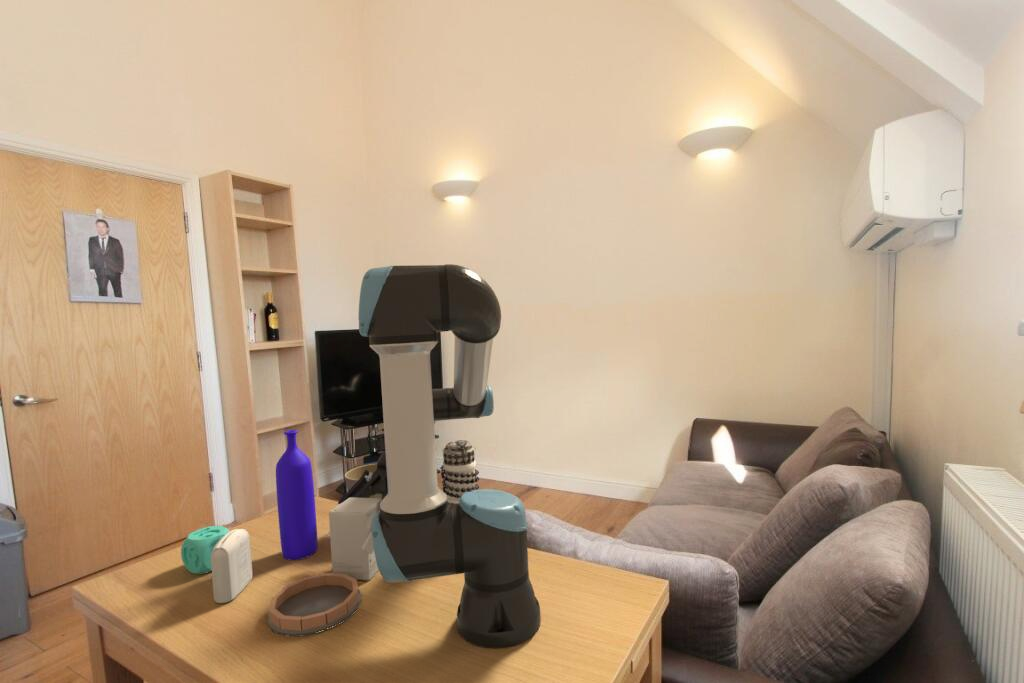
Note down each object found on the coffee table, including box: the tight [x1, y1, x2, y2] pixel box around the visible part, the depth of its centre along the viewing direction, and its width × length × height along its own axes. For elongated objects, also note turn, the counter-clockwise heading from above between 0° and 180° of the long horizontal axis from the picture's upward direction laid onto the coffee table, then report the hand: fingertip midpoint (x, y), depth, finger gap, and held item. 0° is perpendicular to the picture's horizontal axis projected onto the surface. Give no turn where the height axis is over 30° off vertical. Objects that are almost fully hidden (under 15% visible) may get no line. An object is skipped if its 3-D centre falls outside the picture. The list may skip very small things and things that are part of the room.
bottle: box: [275, 429, 318, 561], centre depth 123 cm, size 8×8×30 cm
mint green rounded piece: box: [180, 525, 231, 575], centre depth 119 cm, size 8×8×8 cm
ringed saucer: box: [267, 572, 362, 637], centre depth 99 cm, size 17×17×3 cm
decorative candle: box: [440, 440, 480, 505], centre depth 124 cm, size 9×9×25 cm
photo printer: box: [211, 528, 254, 604], centre depth 107 cm, size 10×4×12 cm, turn 3°
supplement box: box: [328, 497, 382, 581], centre depth 113 cm, size 9×9×15 cm
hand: (348, 545), depth 111 cm, fingers closed on supplement box, 11 cm apart
